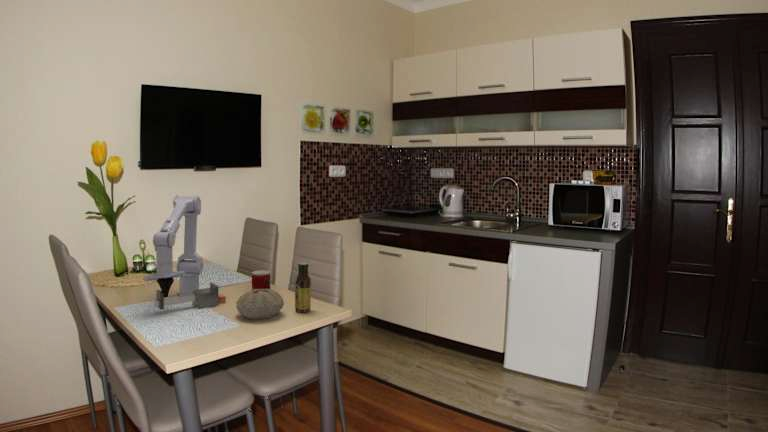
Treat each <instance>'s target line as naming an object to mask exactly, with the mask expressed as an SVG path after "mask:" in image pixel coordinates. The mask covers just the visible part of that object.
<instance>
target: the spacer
mask: <svg viewBox="0 0 768 432" xmlns="http://www.w3.org/2000/svg"><path fill="white" fill-rule="evenodd" d="M218 295H219V305H222V304H226V303H227V302H226V299H227V296H226V295H224V294H222V293H218Z"/></svg>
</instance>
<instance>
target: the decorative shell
mask: <svg viewBox="0 0 768 432" xmlns="http://www.w3.org/2000/svg"><path fill="white" fill-rule="evenodd" d="M235 302H236V305H235V308H236V310H237V312H238V313H239V314H240V315H241V316H244V317H245V318H248V319H250V320H260V319H268V318H272V317H273V316H276V315H277V314H278V313H279V312H280V311H281V310H282V309H283V307H284V304H285V303H284V299H283V297H282V295H281V294H280V293H279V292H278V291H276V290H274V289H271V288H270V289H261V290H260V289H257V290H256V289H255V290H252V289H251V290H250V291H249V290H248V291H247V292H245V293H243V294H242V295H241V296H240V297H239V298H238V300H237V301H235Z"/></svg>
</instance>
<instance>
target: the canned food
mask: <svg viewBox="0 0 768 432" xmlns="http://www.w3.org/2000/svg"><path fill="white" fill-rule="evenodd" d="M255 289H256V290H257V289H260V290H261V289H271V271H269V270H263V269H262V270H254V271H252V272H251V290H255Z"/></svg>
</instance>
